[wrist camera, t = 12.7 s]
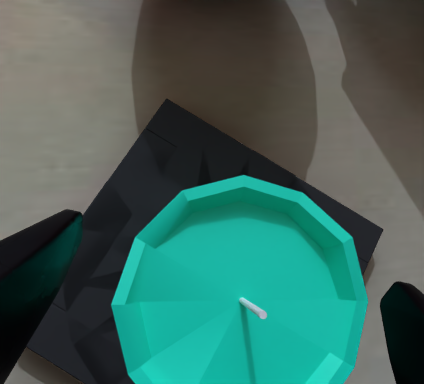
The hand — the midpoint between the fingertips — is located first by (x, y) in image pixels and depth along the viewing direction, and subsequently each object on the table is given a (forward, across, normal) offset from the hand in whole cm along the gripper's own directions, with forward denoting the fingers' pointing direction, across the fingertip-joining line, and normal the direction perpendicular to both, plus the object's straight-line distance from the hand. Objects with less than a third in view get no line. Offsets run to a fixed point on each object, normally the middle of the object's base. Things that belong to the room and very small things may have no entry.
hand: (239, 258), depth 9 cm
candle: (+6, 0, +7) cm, 9 cm away
